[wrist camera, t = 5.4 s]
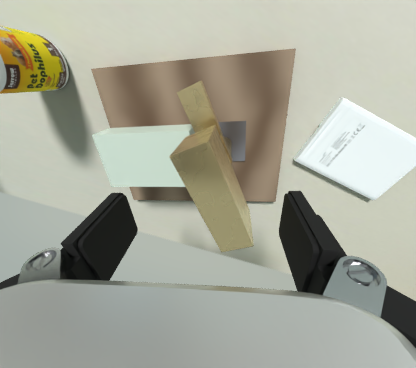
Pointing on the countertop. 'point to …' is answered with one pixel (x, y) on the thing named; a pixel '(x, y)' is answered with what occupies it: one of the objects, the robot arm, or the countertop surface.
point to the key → (212, 173)
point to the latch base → (222, 105)
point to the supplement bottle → (30, 63)
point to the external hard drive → (359, 150)
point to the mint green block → (141, 154)
